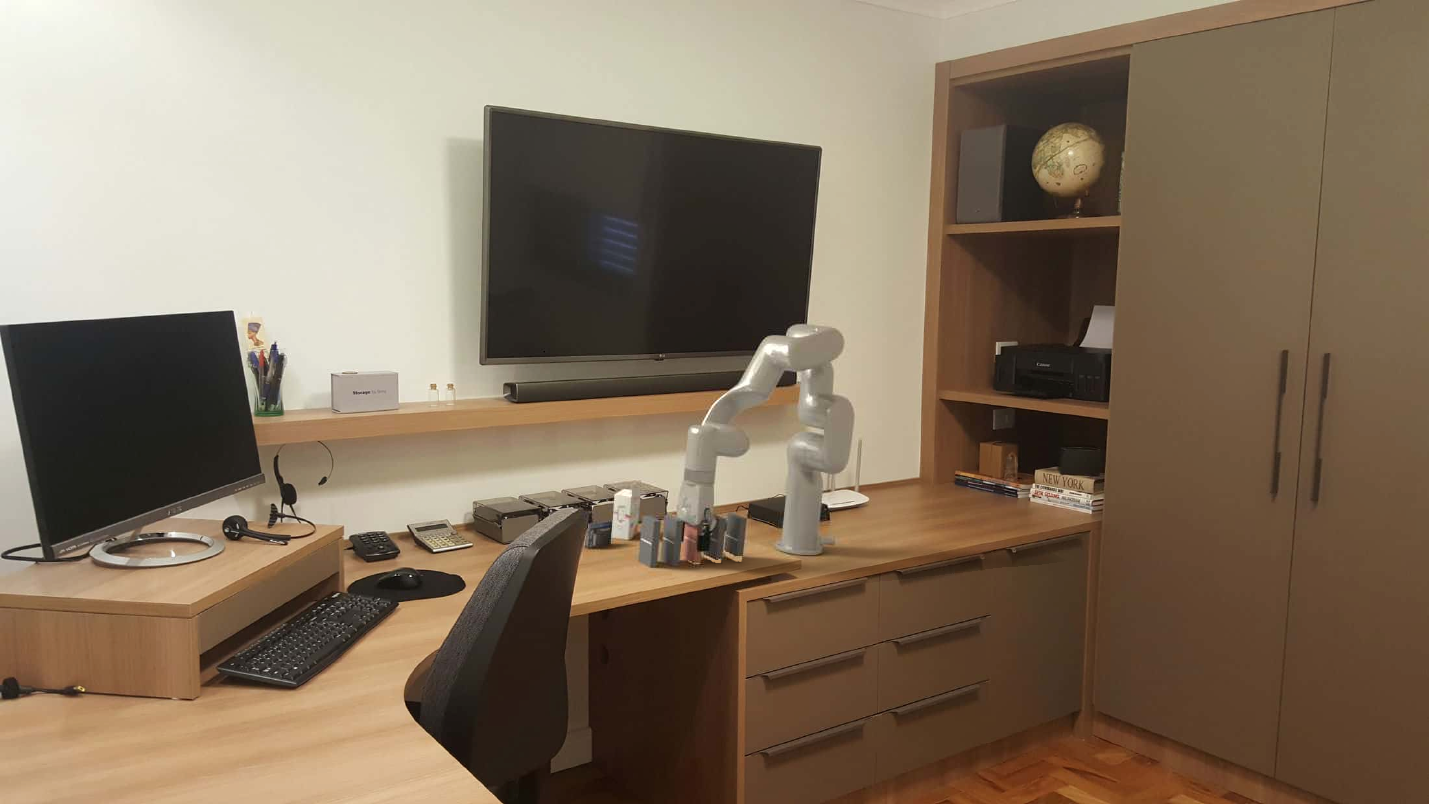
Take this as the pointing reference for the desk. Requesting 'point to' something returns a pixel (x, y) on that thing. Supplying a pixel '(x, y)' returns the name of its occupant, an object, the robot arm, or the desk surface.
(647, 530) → the domino
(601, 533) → the mini dv tape
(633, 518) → the ink cartridge box
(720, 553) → the domino
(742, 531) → the domino
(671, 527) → the domino
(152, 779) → the desk surface
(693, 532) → the domino
